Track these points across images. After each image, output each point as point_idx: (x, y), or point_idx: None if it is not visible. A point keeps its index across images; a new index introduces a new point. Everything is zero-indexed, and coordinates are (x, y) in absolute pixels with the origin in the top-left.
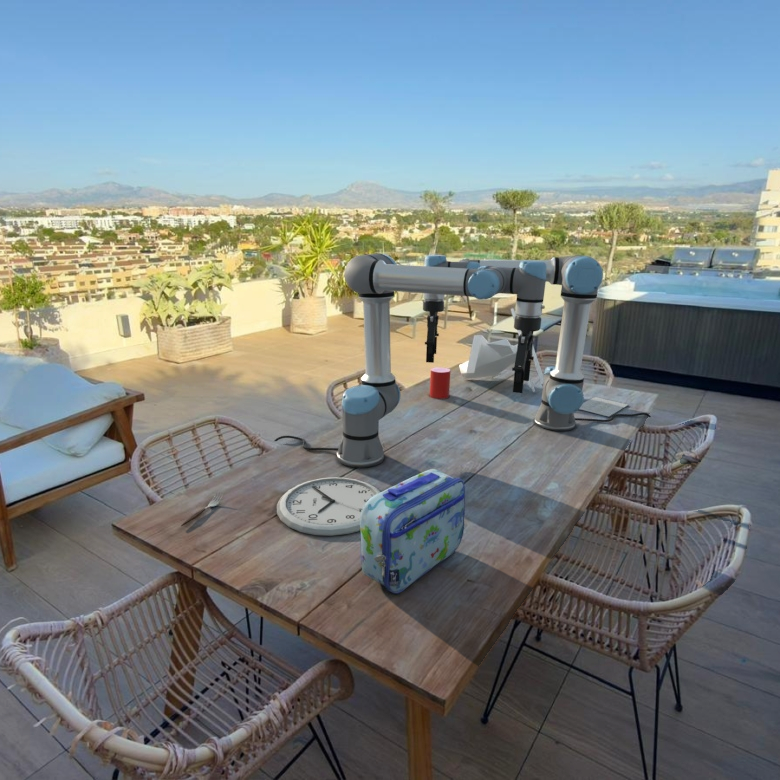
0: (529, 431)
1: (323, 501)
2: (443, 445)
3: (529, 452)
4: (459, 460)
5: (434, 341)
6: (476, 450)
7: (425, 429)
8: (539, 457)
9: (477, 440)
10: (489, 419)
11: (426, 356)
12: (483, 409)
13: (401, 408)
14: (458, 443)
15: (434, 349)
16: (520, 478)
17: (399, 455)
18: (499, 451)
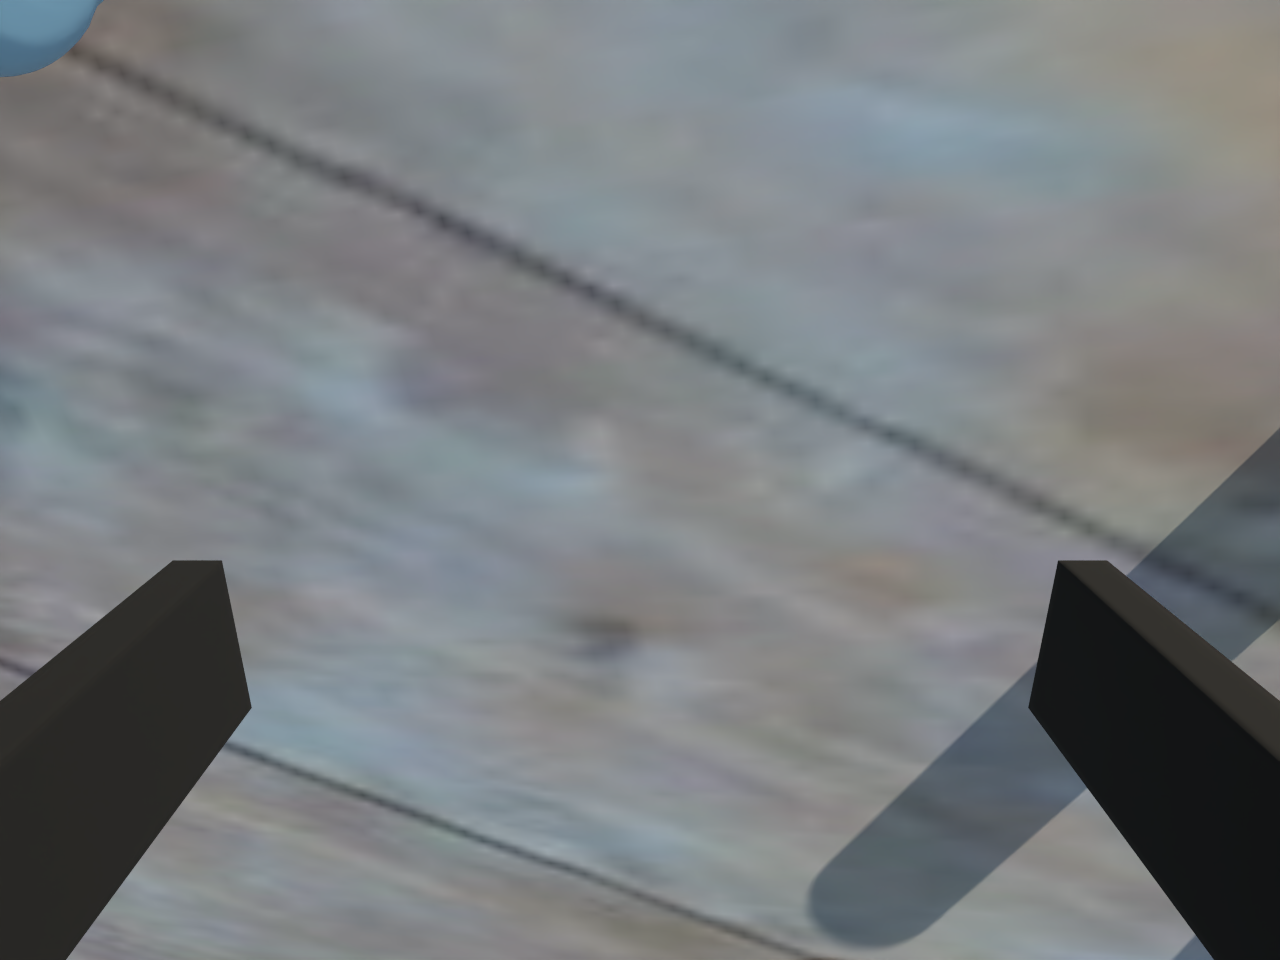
0: (676, 924)
1: None
2: (301, 463)
3: (362, 900)
4: (103, 567)
5: (1245, 921)
6: (292, 657)
7: (573, 314)
8: (312, 934)
9: (456, 664)
10: (856, 737)
11: (84, 639)
12: None
13: (1086, 26)
14: (369, 555)
15: (1090, 740)
16: None
17: (3, 164)
18: (323, 771)
